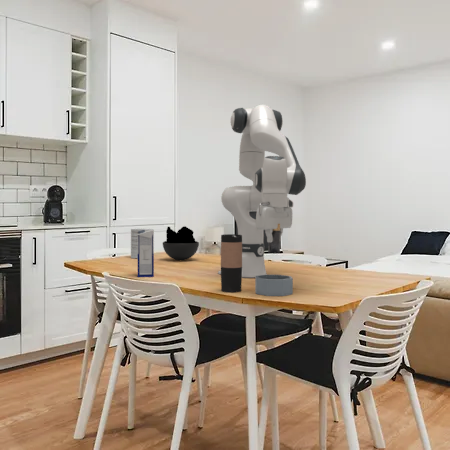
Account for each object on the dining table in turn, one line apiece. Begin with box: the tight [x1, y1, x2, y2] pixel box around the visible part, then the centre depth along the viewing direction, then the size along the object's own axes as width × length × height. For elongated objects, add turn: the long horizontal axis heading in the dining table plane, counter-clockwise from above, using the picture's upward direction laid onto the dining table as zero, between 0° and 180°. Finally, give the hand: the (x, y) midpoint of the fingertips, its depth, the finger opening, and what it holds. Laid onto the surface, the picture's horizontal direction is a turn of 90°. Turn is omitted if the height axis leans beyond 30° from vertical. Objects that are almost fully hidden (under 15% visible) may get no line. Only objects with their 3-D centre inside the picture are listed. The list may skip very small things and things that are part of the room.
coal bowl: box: [162, 225, 200, 261], centre depth 272 cm, size 20×20×19 cm
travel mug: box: [220, 233, 243, 293], centre depth 176 cm, size 8×8×20 cm
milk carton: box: [137, 229, 155, 278], centre depth 212 cm, size 7×7×20 cm
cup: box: [254, 274, 294, 297], centre depth 173 cm, size 13×13×6 cm
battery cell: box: [267, 224, 281, 254], centre depth 172 cm, size 4×4×11 cm
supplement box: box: [130, 228, 154, 260], centre depth 283 cm, size 10×9×17 cm
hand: (274, 241), depth 172 cm, fingers closed on battery cell, 4 cm apart
